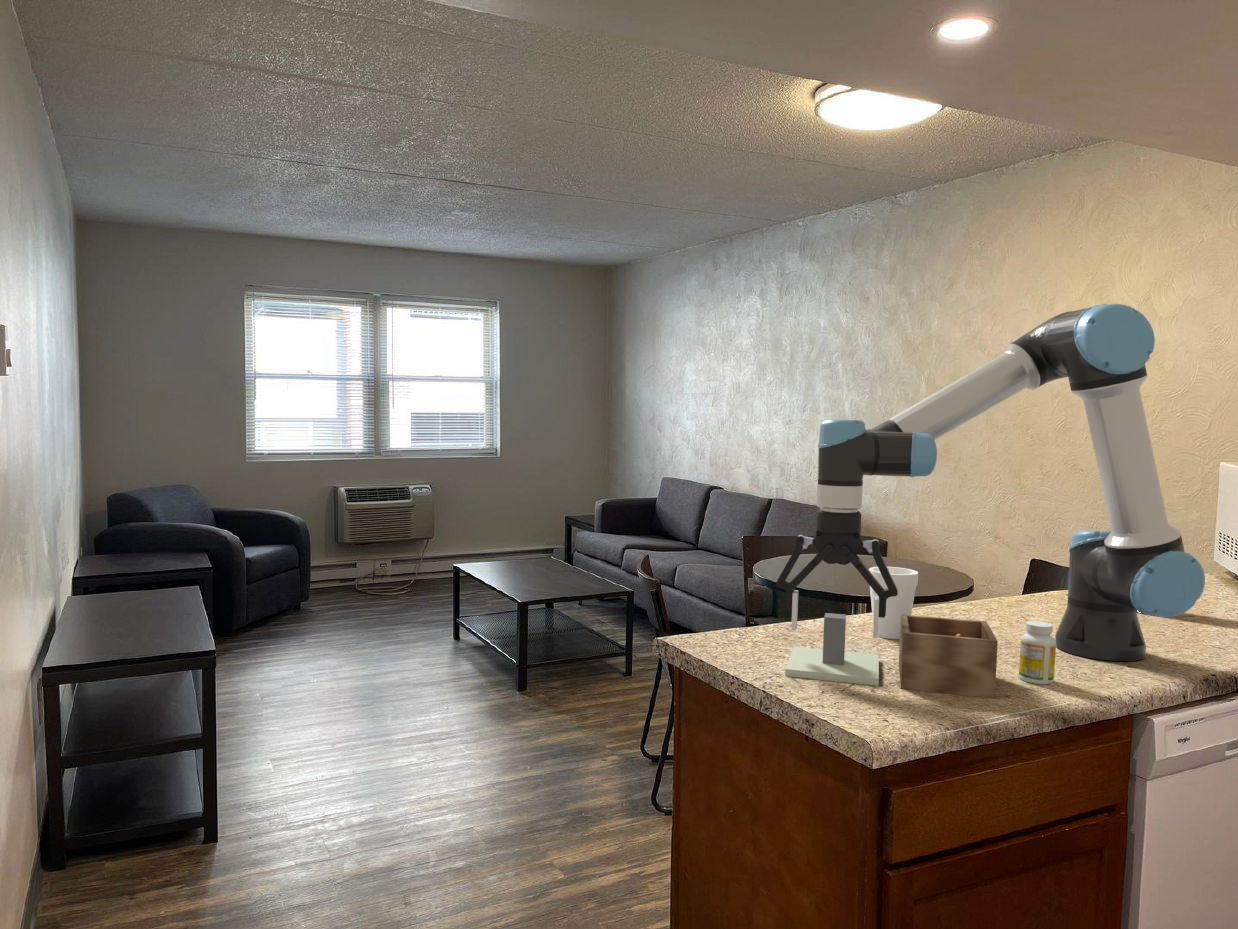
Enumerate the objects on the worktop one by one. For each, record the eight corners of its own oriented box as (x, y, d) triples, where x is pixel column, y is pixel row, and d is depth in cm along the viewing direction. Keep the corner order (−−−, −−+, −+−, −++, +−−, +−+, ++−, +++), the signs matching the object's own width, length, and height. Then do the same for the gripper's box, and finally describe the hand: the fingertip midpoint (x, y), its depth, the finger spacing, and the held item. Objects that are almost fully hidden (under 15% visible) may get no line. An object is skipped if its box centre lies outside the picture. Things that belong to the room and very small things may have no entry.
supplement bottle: (1029, 685, 145) (1032, 627, 144) (1012, 675, 150) (1015, 619, 150) (1060, 685, 145) (1063, 627, 145) (1042, 675, 151) (1045, 619, 150)
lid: (878, 663, 157) (880, 610, 157) (878, 688, 143) (880, 630, 142) (792, 655, 161) (794, 603, 161) (784, 678, 147) (786, 621, 147)
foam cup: (921, 634, 177) (924, 570, 176) (906, 643, 170) (909, 576, 169) (875, 627, 183) (878, 565, 182) (859, 635, 175) (861, 570, 175)
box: (984, 673, 151) (986, 621, 151) (994, 698, 138) (997, 641, 137) (898, 665, 155) (900, 614, 154) (900, 688, 142) (903, 633, 141)
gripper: (914, 511, 151) (909, 633, 152) (768, 503, 158) (764, 621, 159) (916, 516, 144) (911, 644, 145) (762, 507, 150) (758, 630, 152)
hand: (834, 632), depth 152 cm, fingers open, 13 cm apart
